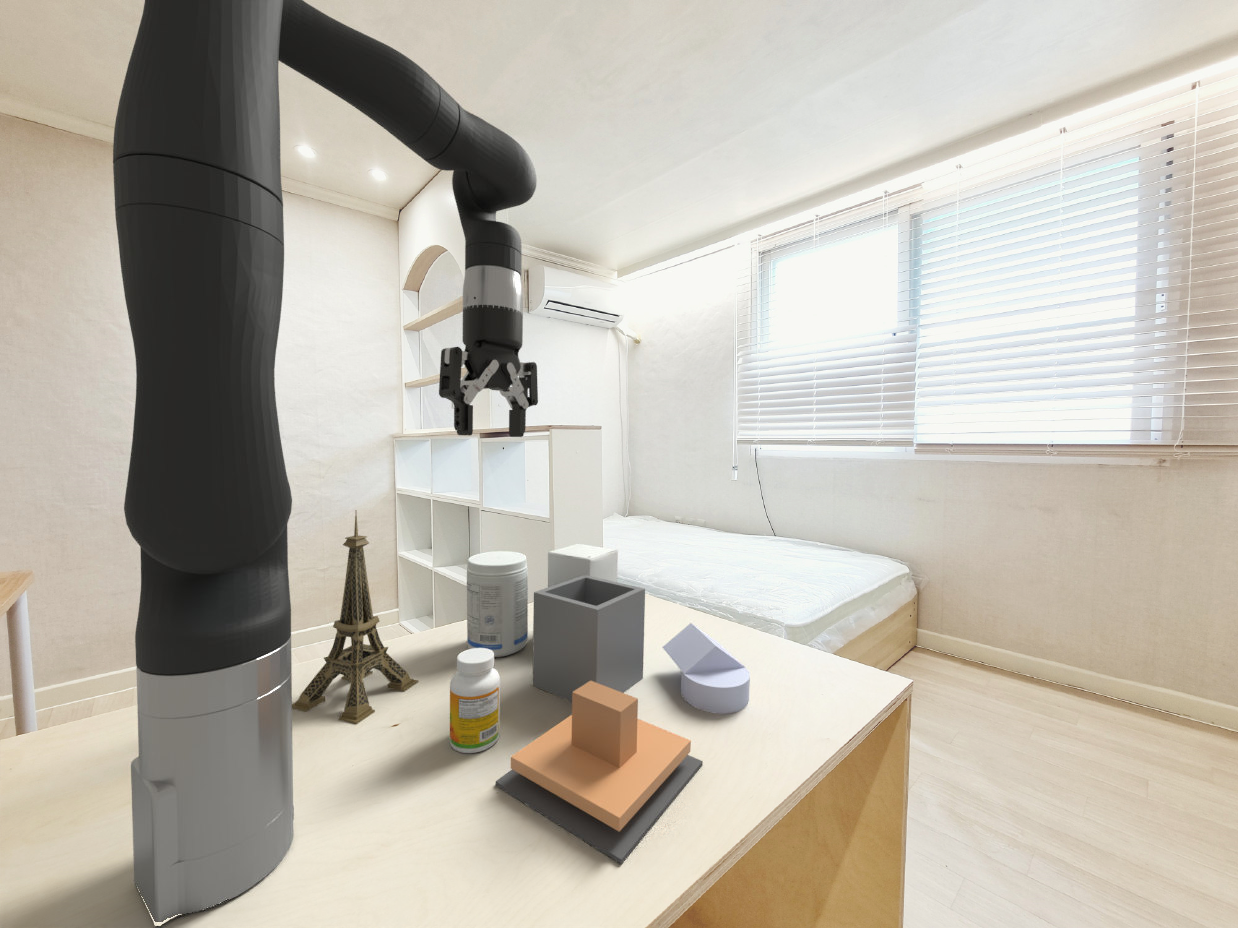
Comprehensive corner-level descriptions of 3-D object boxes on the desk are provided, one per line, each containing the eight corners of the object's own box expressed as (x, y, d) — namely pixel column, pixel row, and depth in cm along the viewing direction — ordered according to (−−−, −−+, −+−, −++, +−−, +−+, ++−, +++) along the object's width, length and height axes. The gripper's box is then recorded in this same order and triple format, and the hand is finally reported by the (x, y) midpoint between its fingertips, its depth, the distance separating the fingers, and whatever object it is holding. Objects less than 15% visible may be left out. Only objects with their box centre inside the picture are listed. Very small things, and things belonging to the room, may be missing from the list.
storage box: (595, 712, 61) (597, 609, 60) (532, 685, 67) (533, 592, 67) (642, 678, 70) (645, 588, 69) (583, 657, 76) (584, 574, 76)
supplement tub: (511, 630, 86) (512, 547, 85) (538, 648, 79) (539, 558, 78) (457, 644, 80) (457, 555, 79) (481, 665, 73) (481, 568, 72)
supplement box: (618, 633, 86) (620, 548, 85) (588, 651, 78) (590, 559, 78) (577, 621, 91) (578, 542, 90) (545, 637, 83) (546, 551, 82)
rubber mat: (621, 864, 39) (621, 859, 39) (495, 784, 48) (495, 780, 48) (702, 764, 51) (702, 760, 51) (590, 715, 60) (590, 712, 60)
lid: (618, 845, 41) (621, 753, 40) (510, 780, 48) (511, 701, 48) (690, 762, 51) (692, 689, 51) (592, 719, 59) (593, 655, 58)
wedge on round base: (661, 669, 73) (697, 717, 60) (662, 624, 73) (698, 664, 60) (716, 663, 75) (762, 708, 63) (718, 620, 75) (764, 657, 62)
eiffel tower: (288, 708, 60) (286, 507, 59) (357, 670, 71) (356, 498, 69) (356, 724, 57) (355, 513, 56) (418, 682, 67) (418, 502, 66)
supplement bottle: (456, 725, 57) (457, 644, 57) (503, 724, 58) (504, 644, 57) (443, 755, 52) (443, 666, 52) (494, 754, 52) (495, 665, 52)
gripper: (465, 291, 55) (465, 435, 56) (552, 318, 67) (550, 437, 67) (426, 301, 59) (426, 434, 60) (514, 325, 71) (513, 436, 72)
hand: (492, 436), depth 64 cm, fingers open, 8 cm apart
